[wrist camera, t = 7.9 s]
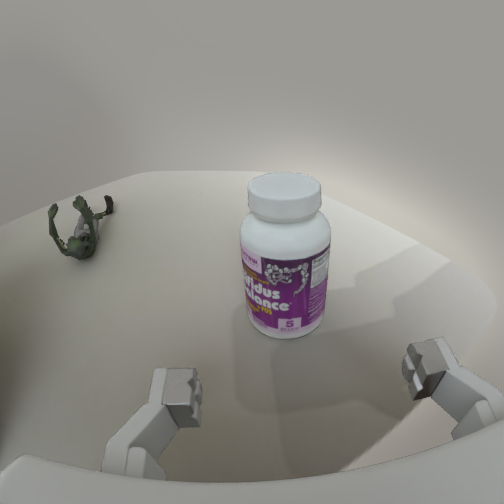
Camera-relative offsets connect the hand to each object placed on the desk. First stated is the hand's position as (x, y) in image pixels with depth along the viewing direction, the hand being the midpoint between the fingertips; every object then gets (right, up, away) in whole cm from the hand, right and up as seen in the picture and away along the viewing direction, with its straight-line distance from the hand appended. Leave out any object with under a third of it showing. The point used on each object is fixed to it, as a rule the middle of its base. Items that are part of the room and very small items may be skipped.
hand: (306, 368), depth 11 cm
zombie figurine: (-21, +6, +23) cm, 32 cm away
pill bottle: (0, 0, +11) cm, 11 cm away
